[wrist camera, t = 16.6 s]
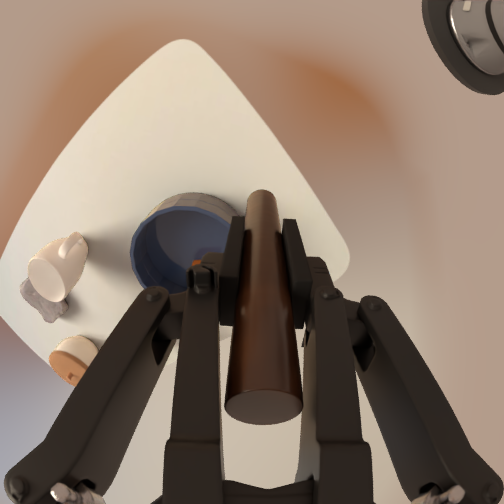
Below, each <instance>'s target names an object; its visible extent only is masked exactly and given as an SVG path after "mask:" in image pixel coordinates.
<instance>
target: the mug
mask: <svg viewBox="0 0 504 504" xmlns="http://www.w3.org/2000/svg"><path fill="white" fill-rule="evenodd" d="M87 254H88V245H87V243H86V241H85V240H84V239H83V237H82V236H81V235H80V234H79V233H78V232H74V233H72V234H71V235H70V236H69V237H66V238H61V239H57V240H54V241H52V242H50V243H49V244H47V245H46V246H45V247H43V248H42V249H41V250H40V251H39V252H38V253H37V254H36V255H34V256H33V257H32V258H31V260H30V261H29V264H28V276H29V279H30V281H31V283H32V285H33V287H34V288H35V290H36V291H37V292H38V293H39V294H40V295H41V296H42V297H44V298H45V299H47V300H49V301H52V302H60V301H62V300H63V299H64V298H65V297H66V296H67V295H68V294H69V292H70V291H71V290H72V288H73V287H74V286H75V285H76V283H77V282H78V280H79V279H80V277H81V275H82V272H83V269H84V265H85V261H86V257H87Z"/></svg>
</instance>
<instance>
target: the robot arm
mask: <svg viewBox="0 0 504 504" xmlns="http://www.w3.org/2000/svg"><path fill="white" fill-rule="evenodd" d="M446 17H447V24H448V27H449V30H450V33H451V36H452V38H453V40H454V42H455V44H456V46H457V48H458V49H459V51H460V52H461V54H462V55H463V56H464V58H465V59H466V60H467V61H468V62H469V63H470V64H471V65H472V66H473V67H474V68H475V69H477V70H478V71H480V72H482V73H484V74H489V75H498V74H501V73H504V0H451V1H450V2H449V4H448V6H447V10H446ZM244 230H245V216H232V220H231V225H230V229H229V233H228V237H227V242H226V246H225V251H224V253H217V252H207V253H206V254H205V255H204V256H203V257H202V259H201V262H200V264H196V265H193V266H191V267H189V268H188V269H187V270H186V272H185V273H186V283H187V290H186V291H184V292H181V293H176V294H169V292H168V290H167V289H165V288H163V287H160V286H152V287H148V288H146V289H144V290H143V291H142V292H141V293H140V294H139V295H138V296H137V298H136V299H135V301H134V302H133V303H132V305H131V306H130V307H129V309H128V310H127V312H126V313H125V314H124V316H123V317H122V318H121V320H120V321H119V323H118V324H117V326H116V327H115V328H114V330H113V331H112V333H111V334H110V336H109V337H108V338H107V340H106V341H105V343H104V344H103V346H102V347H101V349H100V350H99V352H98V353H97V355H96V356H95V358H94V359H93V361H92V362H91V364H90V365H89V367H88V368H87V370H86V371H85V373H84V374H83V376H82V378H81V379H80V381H79V382H78V384H77V385H76V387H75V389H74V390H73V392H72V394H71V395H70V397H69V398H68V400H67V402H66V403H65V405H64V407H63V408H62V410H61V412H60V413H59V415H58V417H57V418H56V420H55V422H54V424H53V425H52V427H51V429H50V431H49V432H48V434H47V436H46V438H45V440H44V441H43V442H42V443H41V444H39V445H38V446H37V447H36V448H35V449H34V450H33V451H31V452H30V453H29V454H28V455H27V456H25V457H24V458H23V459H22V460H21V461H20V462H18V463H17V464H16V465H15V466H14V467H13V468H11V469H10V470H9V471H8V473H7V474H6V475H5V479H4V487H5V491H6V493H7V495H8V497H9V499H10V500H11V501H12V502H13V503H15V504H106V503H105V501H104V499H103V498H102V497H103V495H104V494H105V493H106V491H107V490H108V488H109V487H110V485H111V484H112V482H113V480H114V478H115V476H116V474H117V472H118V469H119V467H120V464H121V462H122V460H123V457H124V455H125V452H126V450H127V448H128V446H129V443H130V441H131V439H132V436H133V434H134V432H135V429H136V427H137V425H138V423H139V420H140V418H141V416H142V414H143V411H144V409H145V407H146V405H147V403H148V400H149V398H150V396H151V394H152V391H153V389H154V387H155V385H156V383H157V381H158V378H159V376H160V374H161V372H162V370H163V368H164V366H165V363H166V361H167V359H168V357H169V355H170V353H171V351H172V349H173V346H174V344H175V342H176V339H180V341H179V349H178V358H177V367H176V376H175V385H174V396H173V407H172V421H171V433H170V438H169V440H167V442H166V445H165V452H164V469H163V470H164V471H163V495H161V496H160V497H159V498H157V499H156V500H155V501H153V502H152V503H151V504H376V503H374V502H373V474H372V458H371V457H372V456H371V448H370V446H369V444H368V443H367V442H365V441H364V440H363V438H362V429H361V417H360V407H359V397H358V388H357V380H356V372H357V374H358V377H359V379H360V381H361V384H362V386H363V389H364V391H365V394H366V396H367V398H368V401H369V403H370V406H371V408H372V411H373V413H374V416H375V418H376V421H377V423H378V426H379V428H380V431H381V433H382V436H383V439H384V441H385V444H386V446H387V449H388V452H389V455H390V457H391V460H392V463H393V465H394V468H395V471H396V473H397V477H398V479H399V482H400V484H401V486H402V489H403V490H404V492H405V494H406V496H407V497H408V499H409V500H410V501H411V504H498V503H499V501H500V500H501V498H502V495H503V490H504V487H503V482H502V480H501V478H500V477H499V476H498V475H497V474H496V473H495V472H494V470H493V469H492V468H490V466H489V465H487V463H486V462H485V461H484V460H483V459H482V458H481V457H480V456H479V455H478V454H477V453H476V452H475V451H474V450H473V449H472V448H471V446H470V444H469V441H468V439H467V438H466V435H465V433H464V431H463V429H462V428H461V425H460V423H459V422H458V420H457V418H456V416H455V414H454V412H453V410H452V408H451V406H450V404H449V403H448V401H447V399H446V397H445V396H444V394H443V392H442V390H441V388H440V387H439V385H438V383H437V381H436V380H435V378H434V376H433V375H432V373H431V371H430V370H429V368H428V366H427V365H426V363H425V361H424V360H423V358H422V356H421V355H420V353H419V352H418V350H417V348H416V347H415V345H414V344H413V342H412V340H411V339H410V337H409V336H408V334H407V333H406V331H405V330H404V328H403V327H402V325H401V324H400V322H399V321H398V319H397V318H396V316H395V315H394V313H393V312H392V310H391V309H390V307H389V306H388V305H387V303H386V302H385V301H384V300H383V299H381V298H379V297H377V296H369V295H368V296H365V297H363V298H362V299H361V301H360V303H359V302H354V301H350V300H347V299H345V298H343V294H342V293H341V292H340V291H339V290H338V289H337V288H335V287H334V285H333V282H332V279H331V276H330V274H329V271H328V269H327V266H326V263H325V262H324V261H323V260H322V259H321V258H320V257H307V256H306V253H305V250H304V246H303V243H302V239H301V236H300V232H299V229H298V226H297V222H296V219H283V228H282V240H283V247H284V253H285V260H286V267H287V273H288V280H289V288H290V295H291V302H292V309H293V317H294V325H295V329H303V327H304V322H305V324H306V330H305V334H304V338H303V342H302V347H304V368H303V402H304V407H303V409H302V418H301V435H300V450H299V463H298V470H297V473H296V477H295V482H294V483H293V484H289V485H285V486H281V487H277V488H273V489H263V488H259V487H255V486H251V485H247V484H243V483H239V482H235V481H231V480H225V473H224V458H223V441H222V419H221V388H220V347H219V322H220V325H222V326H233V319H234V310H235V302H236V298H237V293H238V284H239V275H240V266H241V257H242V248H243V239H244ZM355 370H356V372H355Z"/></svg>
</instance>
